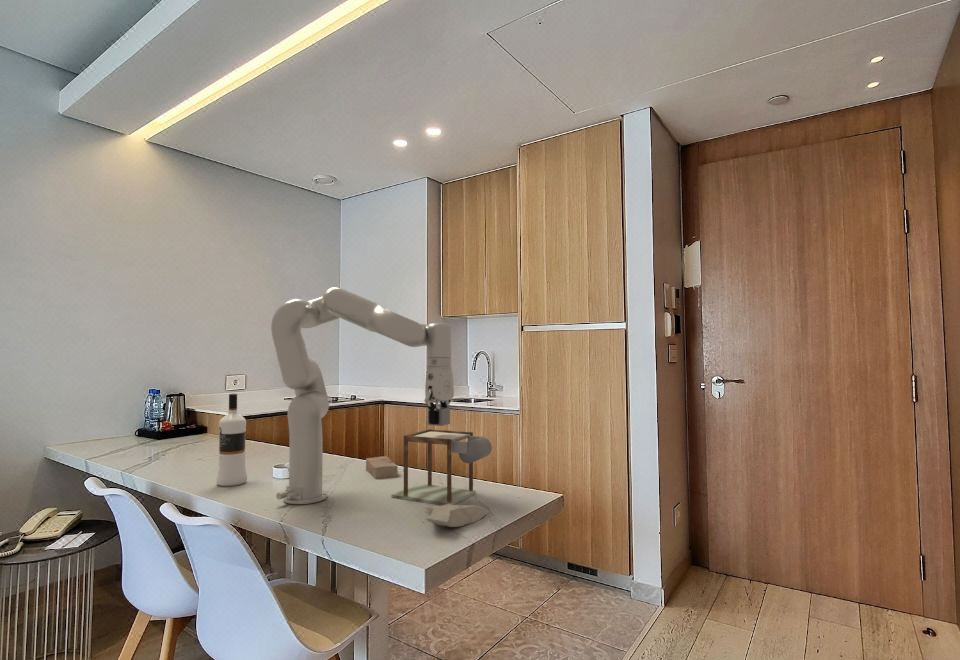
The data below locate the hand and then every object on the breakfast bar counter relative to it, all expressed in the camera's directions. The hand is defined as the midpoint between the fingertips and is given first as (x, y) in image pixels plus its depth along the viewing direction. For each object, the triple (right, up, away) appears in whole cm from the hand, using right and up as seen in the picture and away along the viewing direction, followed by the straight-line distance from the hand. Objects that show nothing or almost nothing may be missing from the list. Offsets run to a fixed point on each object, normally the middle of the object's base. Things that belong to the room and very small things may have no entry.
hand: (438, 422), depth 162 cm
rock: (+4, -22, -24) cm, 33 cm away
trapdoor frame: (-2, -22, 0) cm, 23 cm away
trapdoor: (+4, -10, -2) cm, 11 cm away
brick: (-23, -24, +30) cm, 45 cm away
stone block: (0, -1, 0) cm, 1 cm away
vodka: (-71, -23, +15) cm, 76 cm away
